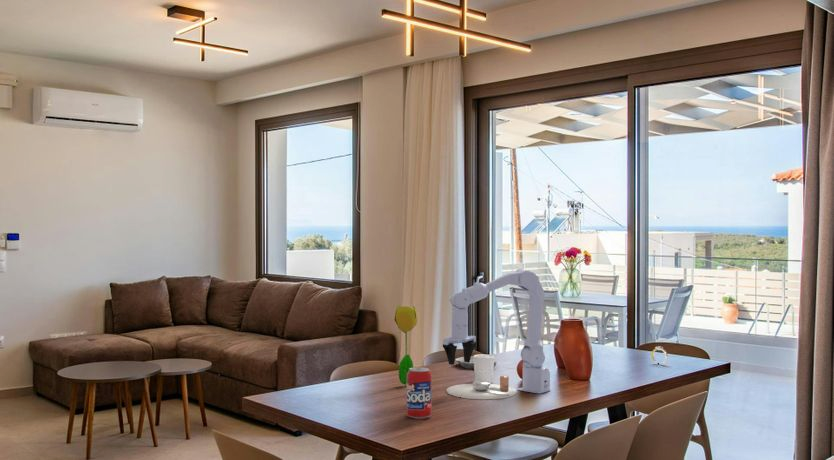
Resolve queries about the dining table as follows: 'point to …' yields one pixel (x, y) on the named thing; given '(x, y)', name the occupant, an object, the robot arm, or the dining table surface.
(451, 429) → the dining table surface
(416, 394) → the soda can
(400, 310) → the flower
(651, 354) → the ring
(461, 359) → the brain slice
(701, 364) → the dining table surface
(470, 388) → the white plate
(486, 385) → the white and tan pieces
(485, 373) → the white cup
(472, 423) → the dining table surface
